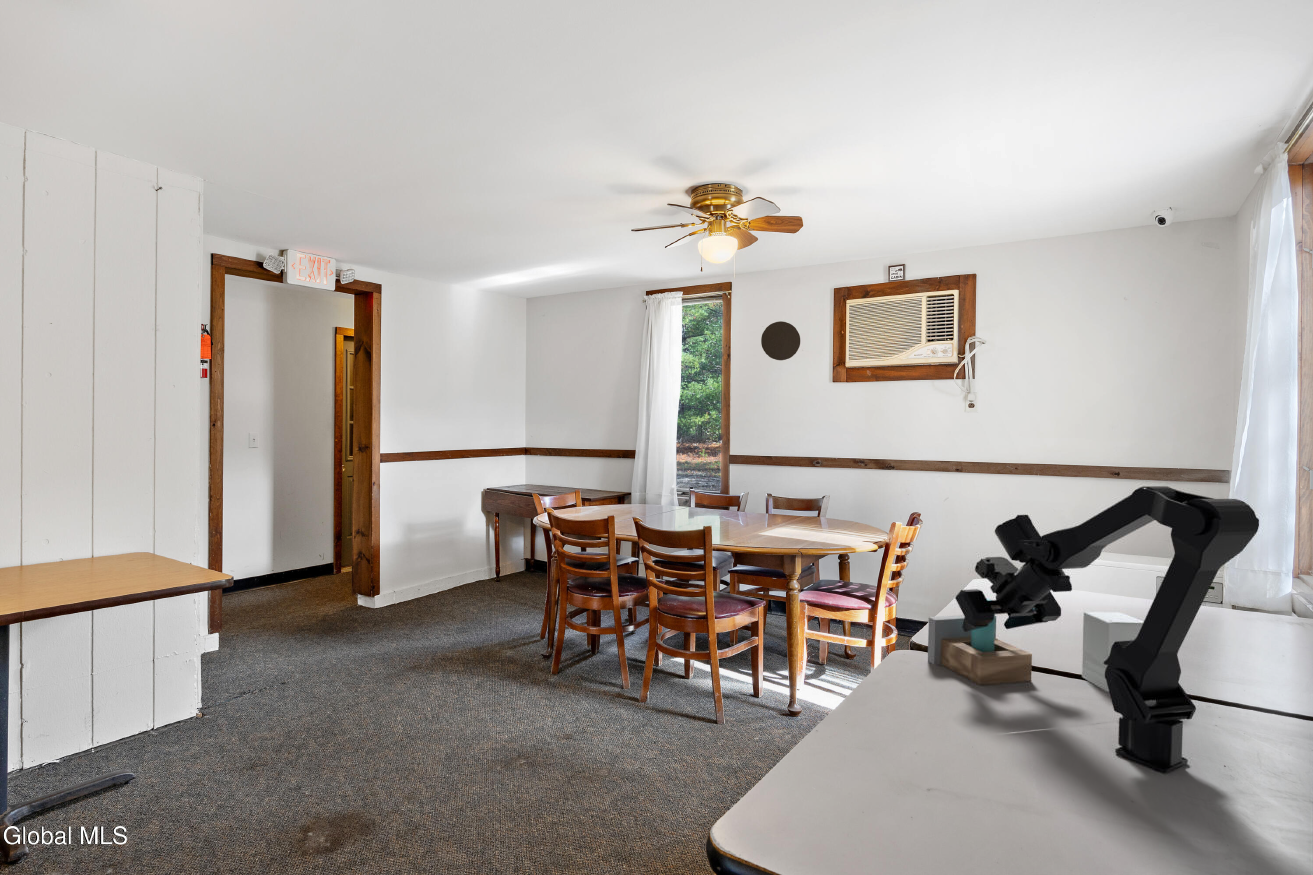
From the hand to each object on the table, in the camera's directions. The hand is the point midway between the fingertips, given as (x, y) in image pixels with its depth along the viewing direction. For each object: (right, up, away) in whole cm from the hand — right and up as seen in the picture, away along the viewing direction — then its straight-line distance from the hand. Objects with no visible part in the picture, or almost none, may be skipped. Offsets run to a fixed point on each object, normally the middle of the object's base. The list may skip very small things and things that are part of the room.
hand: (985, 628), depth 129 cm
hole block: (0, -8, 0) cm, 8 cm away
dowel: (0, -7, +1) cm, 7 cm away
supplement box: (+21, -9, -5) cm, 24 cm away
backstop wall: (-2, -9, +6) cm, 11 cm away
